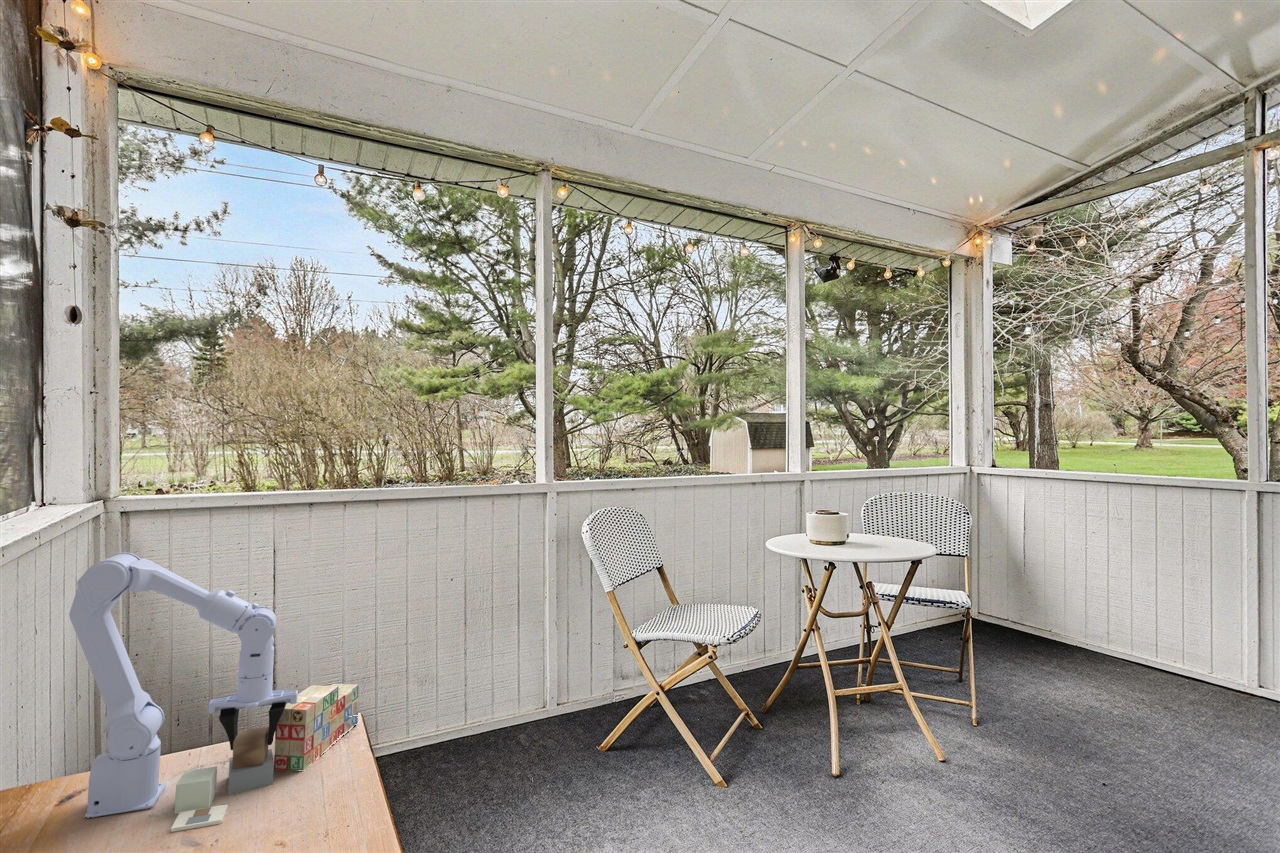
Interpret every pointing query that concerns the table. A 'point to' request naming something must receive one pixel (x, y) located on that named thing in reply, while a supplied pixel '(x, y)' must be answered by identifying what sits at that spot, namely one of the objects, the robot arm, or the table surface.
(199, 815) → the card
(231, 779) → the slate block
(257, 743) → the walnut block
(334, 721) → the stack of blocks
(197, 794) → the sage block
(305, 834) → the table surface
